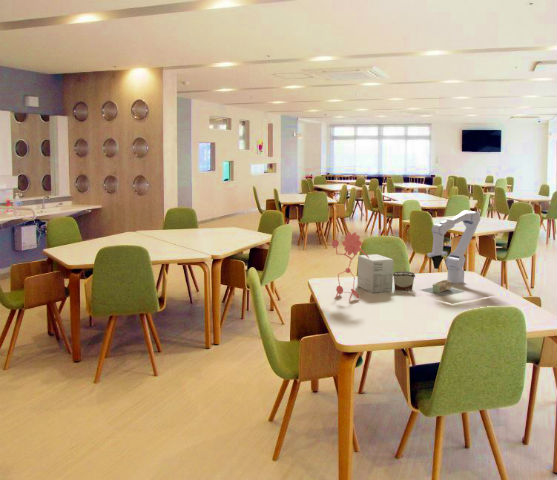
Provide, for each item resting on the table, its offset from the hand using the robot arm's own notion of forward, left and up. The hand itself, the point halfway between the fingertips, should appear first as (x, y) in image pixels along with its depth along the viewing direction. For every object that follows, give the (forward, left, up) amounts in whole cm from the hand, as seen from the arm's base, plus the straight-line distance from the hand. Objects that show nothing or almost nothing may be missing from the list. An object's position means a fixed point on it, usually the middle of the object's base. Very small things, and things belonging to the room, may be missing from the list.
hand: (436, 268), depth 338 cm
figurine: (+56, -7, -11) cm, 58 cm away
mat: (+7, +12, -10) cm, 17 cm away
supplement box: (+33, -14, -11) cm, 38 cm away
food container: (+21, -4, -11) cm, 24 cm away
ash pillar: (+3, +12, -6) cm, 13 cm away
